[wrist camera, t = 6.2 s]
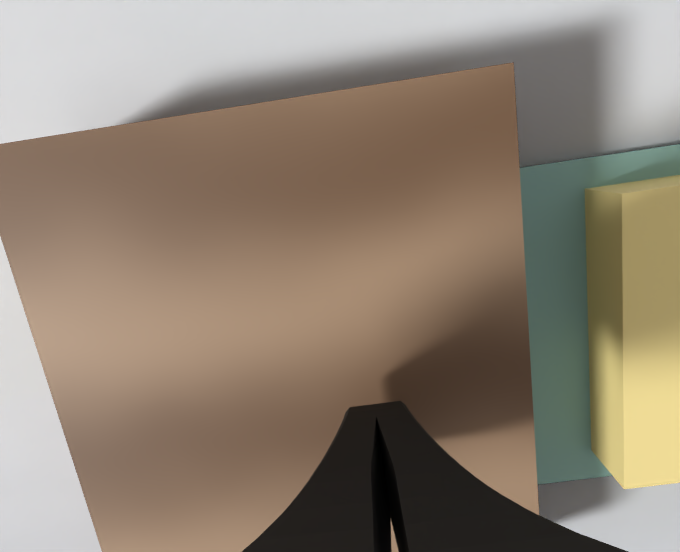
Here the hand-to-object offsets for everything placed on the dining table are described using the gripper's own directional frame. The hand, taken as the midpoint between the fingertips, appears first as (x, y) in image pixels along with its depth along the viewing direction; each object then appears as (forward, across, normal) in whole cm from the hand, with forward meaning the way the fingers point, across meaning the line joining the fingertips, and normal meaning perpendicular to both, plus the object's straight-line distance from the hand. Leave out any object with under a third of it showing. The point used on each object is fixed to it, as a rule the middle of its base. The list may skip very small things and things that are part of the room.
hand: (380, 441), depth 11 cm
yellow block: (+3, -10, 0) cm, 10 cm away
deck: (+5, +2, 0) cm, 5 cm away
